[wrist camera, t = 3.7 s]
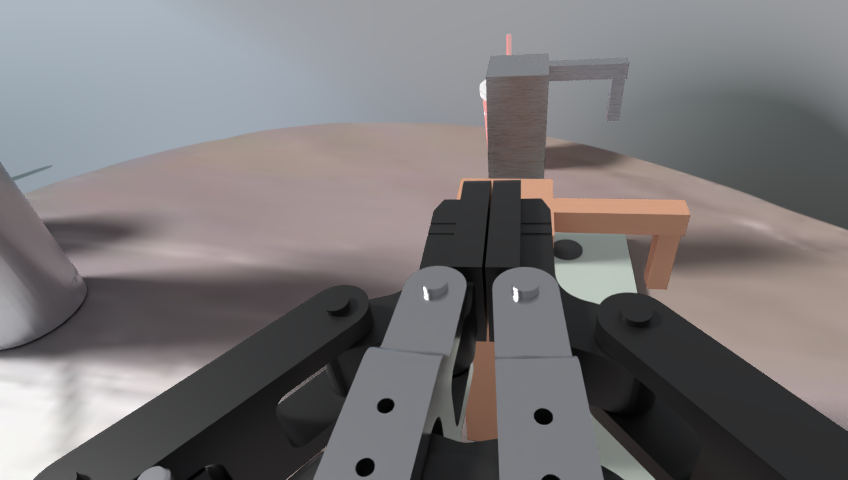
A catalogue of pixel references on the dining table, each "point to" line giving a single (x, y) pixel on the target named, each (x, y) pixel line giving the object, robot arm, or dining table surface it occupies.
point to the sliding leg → (567, 217)
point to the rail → (535, 107)
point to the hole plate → (594, 281)
